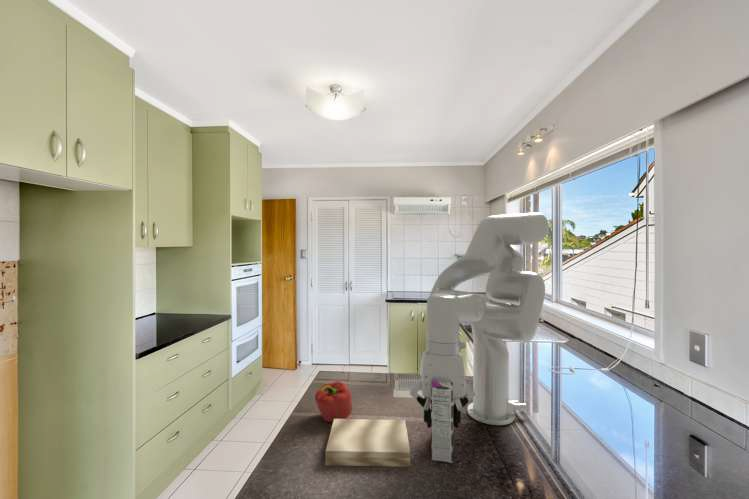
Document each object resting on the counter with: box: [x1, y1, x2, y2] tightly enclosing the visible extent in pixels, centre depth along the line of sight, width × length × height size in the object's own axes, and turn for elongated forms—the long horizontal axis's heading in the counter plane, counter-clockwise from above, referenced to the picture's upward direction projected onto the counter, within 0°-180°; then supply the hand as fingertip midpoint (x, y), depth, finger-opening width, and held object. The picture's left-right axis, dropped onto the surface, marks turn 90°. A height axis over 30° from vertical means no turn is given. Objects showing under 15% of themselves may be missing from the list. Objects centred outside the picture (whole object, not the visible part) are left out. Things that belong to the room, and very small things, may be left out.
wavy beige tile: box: [324, 418, 411, 468], centre depth 79 cm, size 18×14×3 cm
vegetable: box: [314, 381, 353, 423], centre depth 92 cm, size 11×10×10 cm
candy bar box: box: [430, 382, 454, 464], centre depth 79 cm, size 11×5×16 cm, turn 168°
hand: (441, 424), depth 79 cm, fingers closed on candy bar box, 5 cm apart
